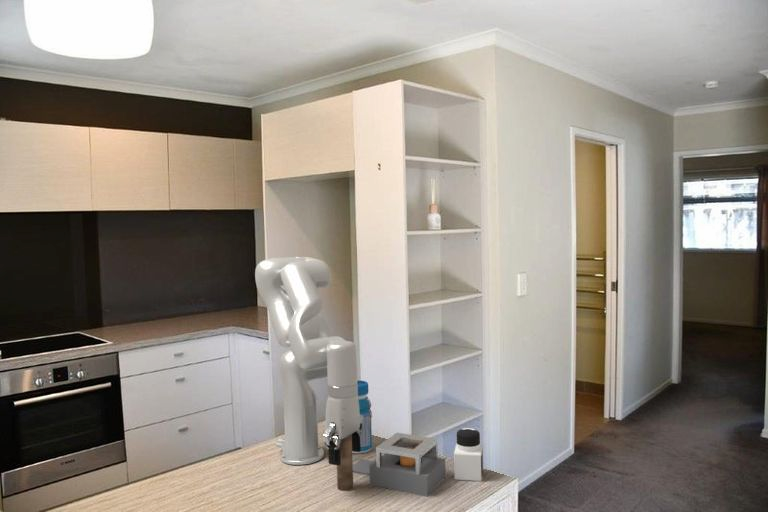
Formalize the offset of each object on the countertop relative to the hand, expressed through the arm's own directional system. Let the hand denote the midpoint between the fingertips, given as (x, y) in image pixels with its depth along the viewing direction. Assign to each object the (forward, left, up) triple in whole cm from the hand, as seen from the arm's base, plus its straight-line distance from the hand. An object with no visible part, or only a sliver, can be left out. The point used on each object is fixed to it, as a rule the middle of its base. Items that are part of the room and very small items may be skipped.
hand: (345, 457), depth 149 cm
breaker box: (+13, +10, -8) cm, 18 cm away
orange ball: (+13, +10, -5) cm, 17 cm away
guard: (+13, +10, -3) cm, 17 cm away
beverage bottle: (-10, +24, -8) cm, 27 cm away
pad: (-1, +13, -8) cm, 15 cm away
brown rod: (0, 0, -8) cm, 8 cm away
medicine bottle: (+26, +20, -8) cm, 34 cm away
